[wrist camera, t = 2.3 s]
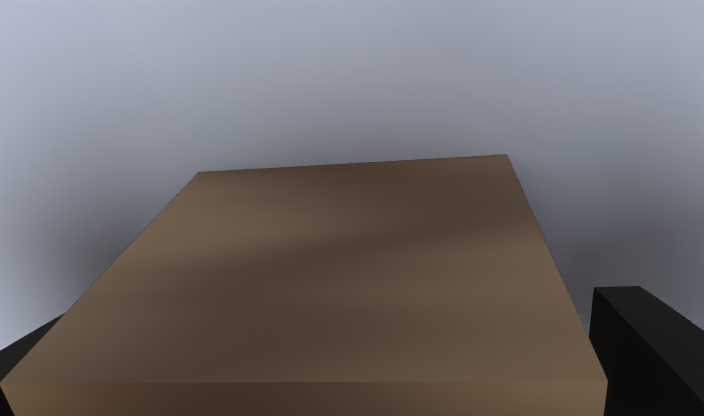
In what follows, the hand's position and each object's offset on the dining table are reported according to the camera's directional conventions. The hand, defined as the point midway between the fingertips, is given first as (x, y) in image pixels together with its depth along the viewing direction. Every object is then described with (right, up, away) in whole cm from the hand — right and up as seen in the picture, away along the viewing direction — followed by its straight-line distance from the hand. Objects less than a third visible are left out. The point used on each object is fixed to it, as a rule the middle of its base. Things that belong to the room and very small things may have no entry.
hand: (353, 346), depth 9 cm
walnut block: (0, +1, +1) cm, 2 cm away
